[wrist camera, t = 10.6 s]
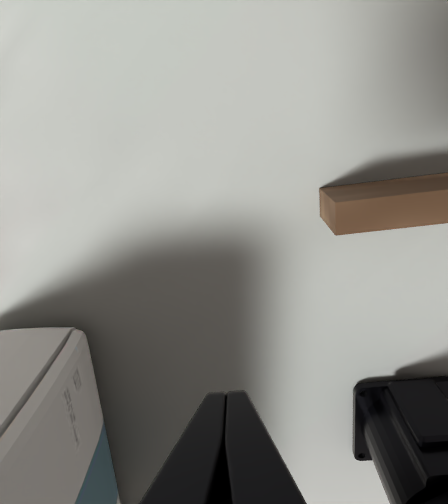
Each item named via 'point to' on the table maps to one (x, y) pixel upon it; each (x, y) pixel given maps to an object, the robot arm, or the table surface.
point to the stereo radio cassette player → (52, 421)
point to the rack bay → (385, 204)
